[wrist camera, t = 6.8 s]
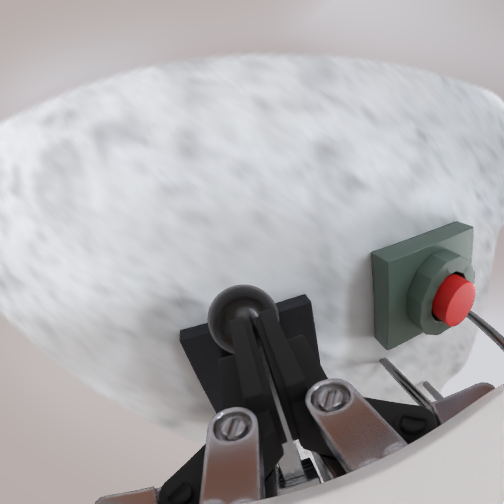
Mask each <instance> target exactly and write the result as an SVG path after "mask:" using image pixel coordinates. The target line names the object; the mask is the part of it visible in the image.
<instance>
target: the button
mask: <svg viewBox="0 0 504 504" xmlns="http://www.w3.org/2000/svg"><path fill="white" fill-rule="evenodd" d="M474 298H475V287H474V285H473V283H471V282H469V281H468V280H466V279H464V278H462V277H460V276H459V275H457V274H451V275H449V276H447V277H446V279H445V280H444V281H443V282H442V284H441V285H440V286H439V287H438V290H437V292H436V294H435V297H434V299H433V301H432V312H433V314H434V315H435V316H436V317H437V318H439V319H440V320H441V321H443V322H444V323H445V324H447V325H448V326H456V325H458V324H459V323H460V322H462V321H463V320H464V318H465V317H466V316H467V314H468V313H469V311H470V309H471V307H472V305H473V302H474Z"/></svg>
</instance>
